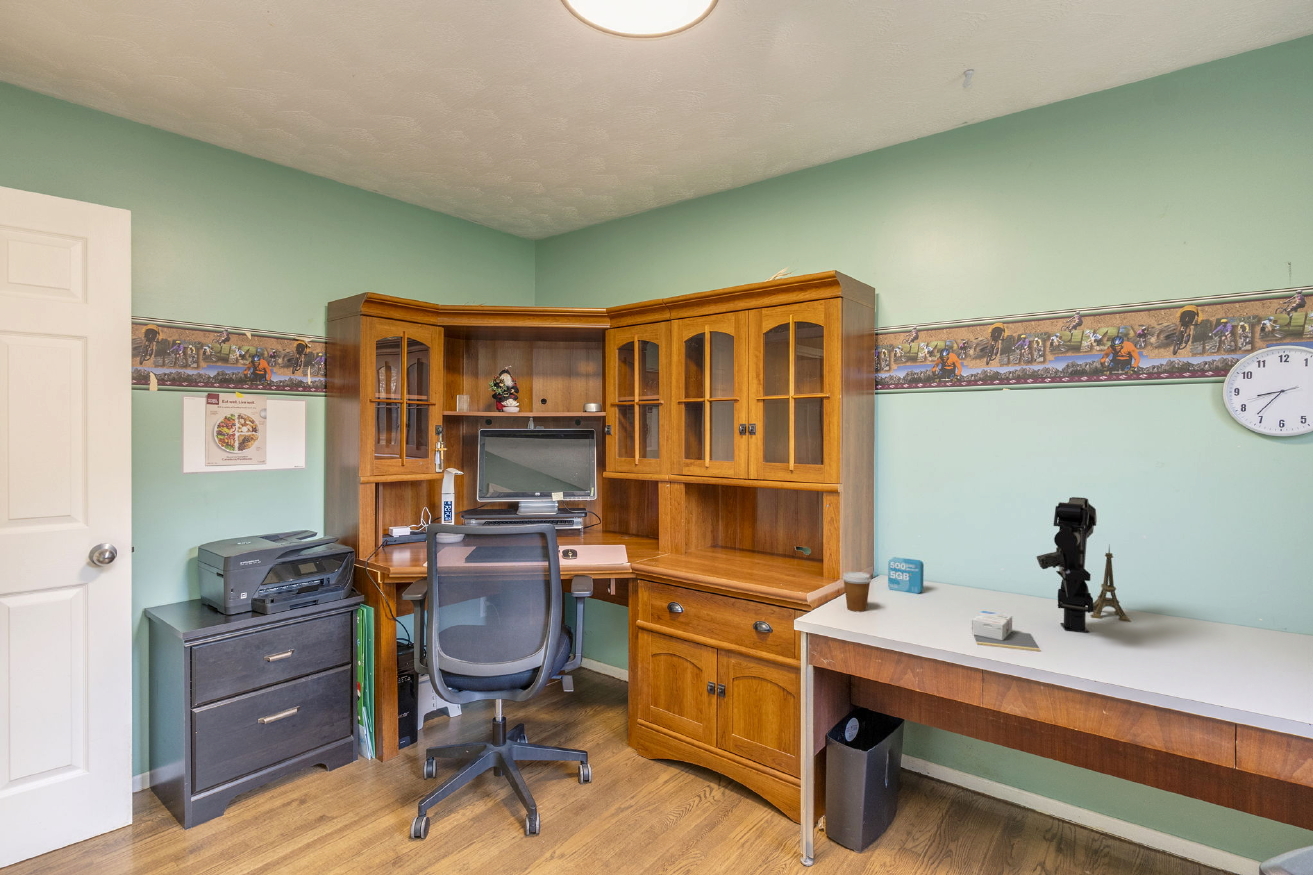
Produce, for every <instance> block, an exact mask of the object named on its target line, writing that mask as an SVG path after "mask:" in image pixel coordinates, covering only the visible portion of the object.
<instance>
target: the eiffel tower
mask: <svg viewBox="0 0 1313 875" xmlns="http://www.w3.org/2000/svg"><path fill="white" fill-rule="evenodd" d="M1110 546H1111V545H1108V552H1105V555H1104V556H1105V557H1106V560H1105V568H1104V576H1103V583H1101V584H1100V587H1101V591H1100V593H1099V595H1097V599H1096V600H1095V601H1093V605H1094V610H1093V612H1092V614H1090V617H1091V618H1092V619H1098V620H1099V619H1100V620H1102V619H1103V617H1102V612H1103V609H1104V608H1106V607H1110V608H1112V609H1114V610H1113V613H1114V614H1115V615H1117V616H1118V620H1119V621H1120V622H1126V623H1127V622H1128V623H1131V622H1132V621H1131V619H1130V618H1128V616H1127V614H1126V613H1125V611H1124V609H1123V608H1122V606H1121V605H1120V601H1119V600H1118V598H1117V595H1116V590H1117V588H1116V586H1114V572H1113V562H1112V558H1114V556H1113V553H1111V552H1110V551H1111V550H1110V549H1111V547H1110ZM1107 593H1110V596H1111V597H1107Z"/></svg>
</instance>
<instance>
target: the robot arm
mask: <svg viewBox="0 0 1313 875" xmlns="http://www.w3.org/2000/svg"><path fill="white" fill-rule="evenodd" d="M1097 516H1098V515H1097V509H1096V508H1095V507H1094V506H1093V505H1092V504H1090V503H1089V498H1087V497H1077V496H1076V497H1075V496H1074V497H1073V496H1072V497H1069V499H1068V501H1067V502H1061V501H1059V502H1058V504H1057V505H1055V511H1054V516H1053V527H1059V529H1058V531H1057V532H1056V534H1055V535H1054V538H1053V541H1054V544H1055V545H1056V547H1055V548H1056V550H1055V551H1052V552H1049V553H1044V554H1040V555H1037V556H1036V559H1037V562H1038V565H1039V567H1040V568H1041V569H1042V570H1046V569H1049V568H1054V569H1056V567H1058V570H1055V572H1056V574H1058V575H1059V576H1060V577H1061V582H1060V588H1058V590H1057V608H1058V609H1063V622H1060V623H1059V624H1060V626H1061V627H1062V629H1063V630H1065V631H1070V632H1081V633H1090V630H1089V629H1088V628H1087V626H1086V624H1087V622H1086V621H1087V620H1086V617H1087V616H1086V614H1087V613H1088V614H1091V613H1093V610H1094V605H1093V603H1094V598H1093V597H1092V594H1091V592H1089V586H1088V584H1087V582H1091V576H1092V575H1091V573H1090V572H1089V571H1088V570H1086V568H1085V565H1086V557H1087V556H1086V554H1087V542H1088V538H1090V537H1091V535H1092V534H1093V533H1094V528H1095V527H1096V526H1097V522H1098V518H1097Z"/></svg>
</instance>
